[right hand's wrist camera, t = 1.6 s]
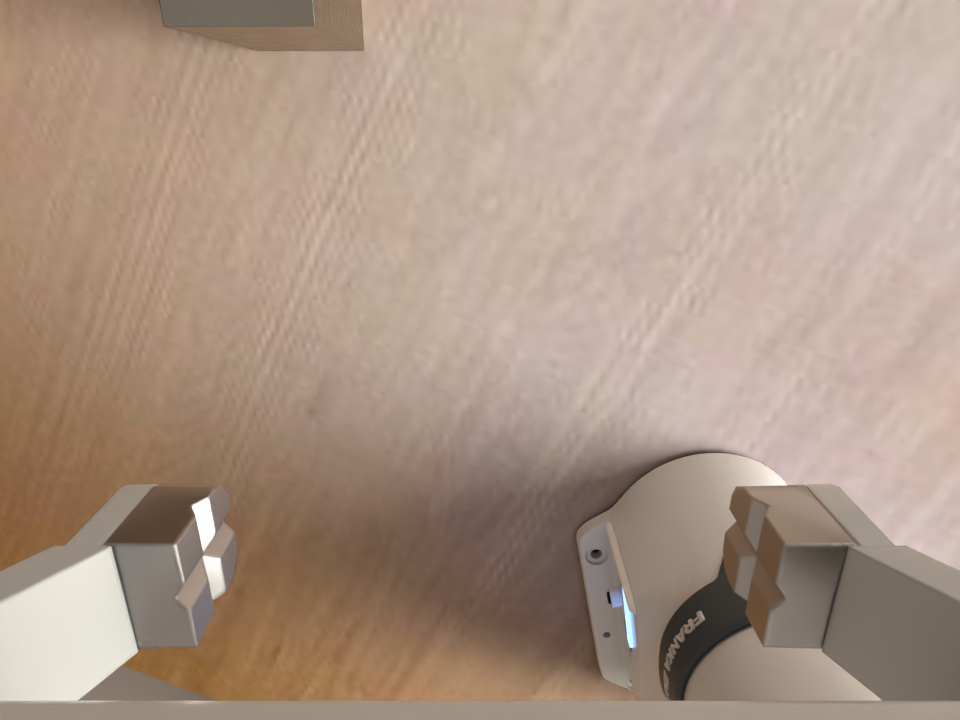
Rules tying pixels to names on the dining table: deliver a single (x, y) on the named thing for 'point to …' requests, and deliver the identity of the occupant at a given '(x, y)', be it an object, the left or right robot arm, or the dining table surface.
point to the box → (271, 23)
